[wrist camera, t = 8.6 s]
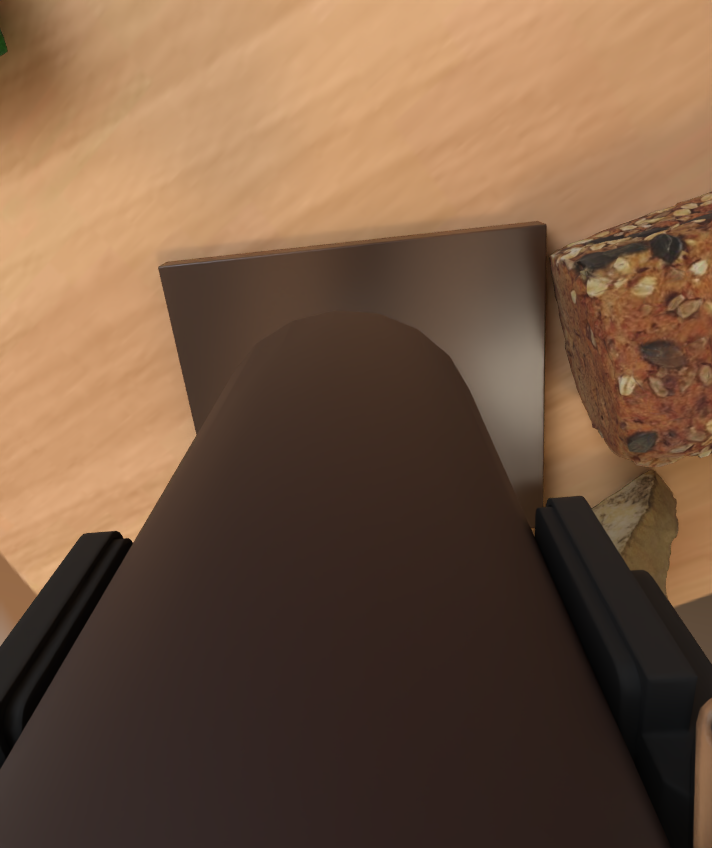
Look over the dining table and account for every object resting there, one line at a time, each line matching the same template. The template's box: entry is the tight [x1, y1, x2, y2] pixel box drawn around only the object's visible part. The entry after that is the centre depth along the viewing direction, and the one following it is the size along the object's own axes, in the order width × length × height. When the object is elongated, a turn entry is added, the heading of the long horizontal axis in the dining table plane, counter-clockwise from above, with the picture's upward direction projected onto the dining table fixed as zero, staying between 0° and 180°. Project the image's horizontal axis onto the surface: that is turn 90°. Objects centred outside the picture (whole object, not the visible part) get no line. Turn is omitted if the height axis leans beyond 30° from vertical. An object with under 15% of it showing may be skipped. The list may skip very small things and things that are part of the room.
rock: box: [592, 470, 678, 597], centre depth 38 cm, size 11×9×10 cm
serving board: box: [158, 221, 547, 528], centre depth 36 cm, size 20×18×2 cm
